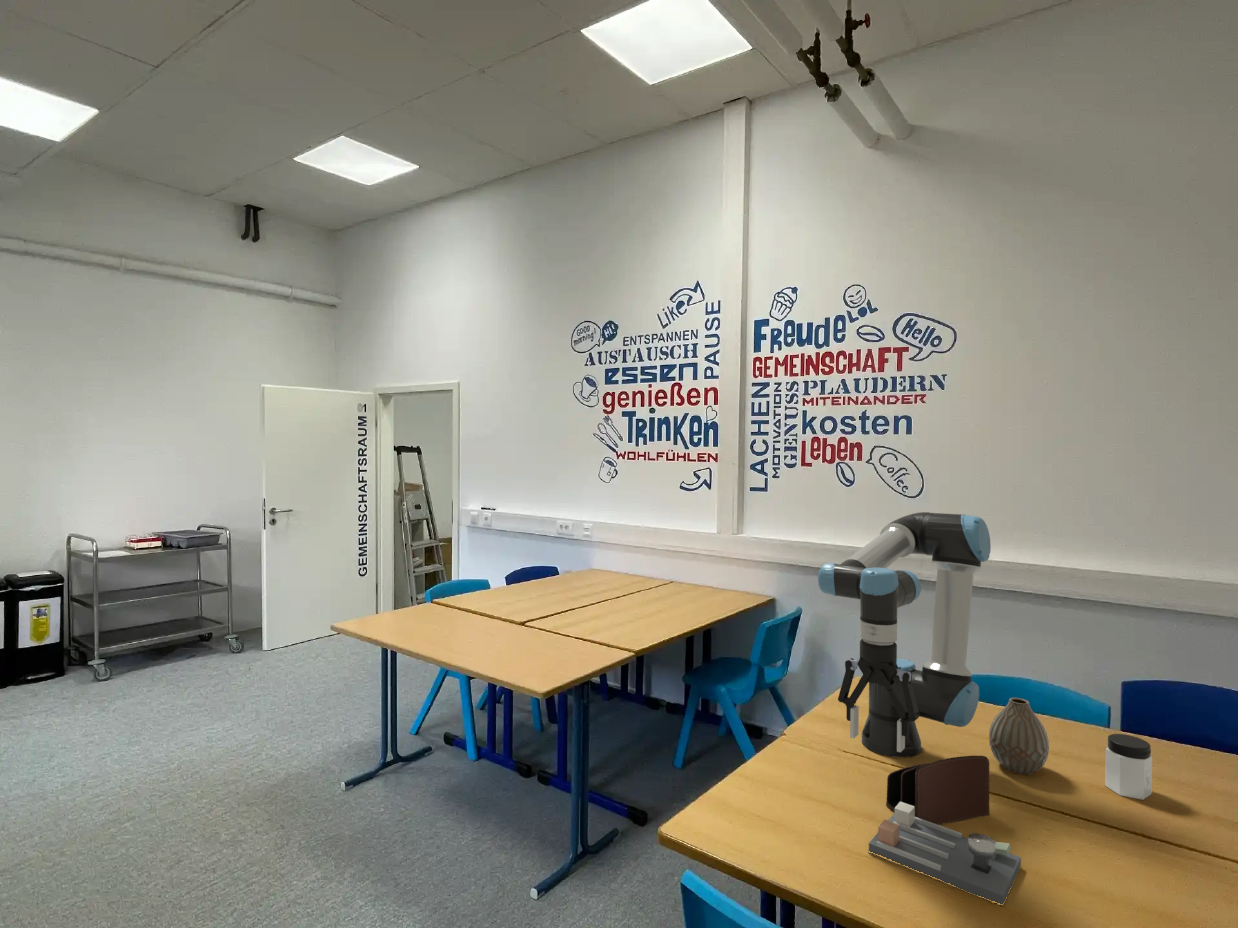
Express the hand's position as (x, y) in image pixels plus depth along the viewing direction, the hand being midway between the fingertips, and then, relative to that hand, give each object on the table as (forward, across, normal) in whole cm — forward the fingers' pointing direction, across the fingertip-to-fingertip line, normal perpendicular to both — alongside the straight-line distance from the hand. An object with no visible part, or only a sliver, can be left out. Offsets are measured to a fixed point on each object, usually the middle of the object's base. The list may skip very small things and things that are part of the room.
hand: (877, 742), depth 146 cm
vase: (+18, +18, +48) cm, 55 cm away
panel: (+18, +15, -4) cm, 24 cm away
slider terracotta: (+15, +6, -9) cm, 19 cm away
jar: (+18, +40, +54) cm, 69 cm away
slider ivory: (+15, +6, 0) cm, 16 cm away
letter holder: (+18, +9, +14) cm, 24 cm away
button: (+15, +22, -6) cm, 27 cm away
